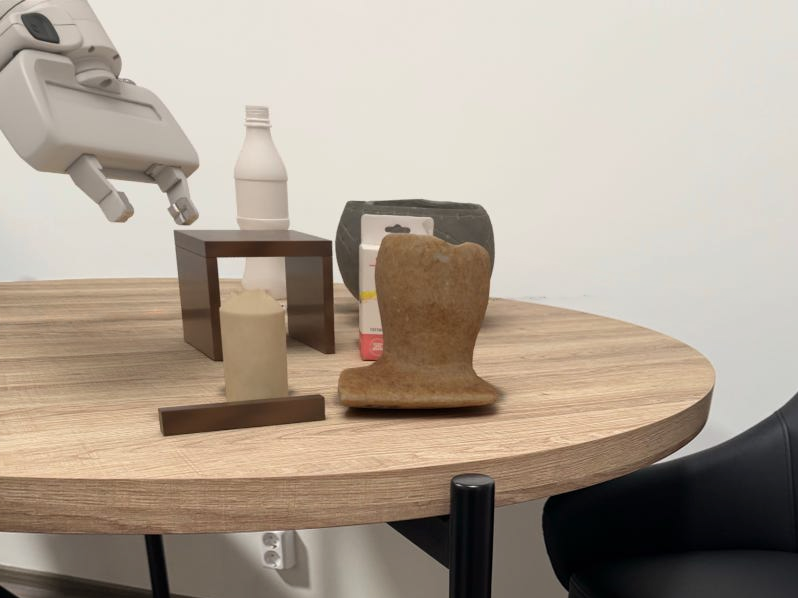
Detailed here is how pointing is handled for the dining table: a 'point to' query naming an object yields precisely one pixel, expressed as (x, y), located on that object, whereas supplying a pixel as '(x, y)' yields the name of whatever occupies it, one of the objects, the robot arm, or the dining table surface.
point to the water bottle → (261, 200)
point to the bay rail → (241, 414)
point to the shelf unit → (301, 251)
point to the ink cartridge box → (368, 254)
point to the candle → (253, 346)
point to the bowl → (449, 225)
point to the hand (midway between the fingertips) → (158, 220)
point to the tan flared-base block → (425, 327)
